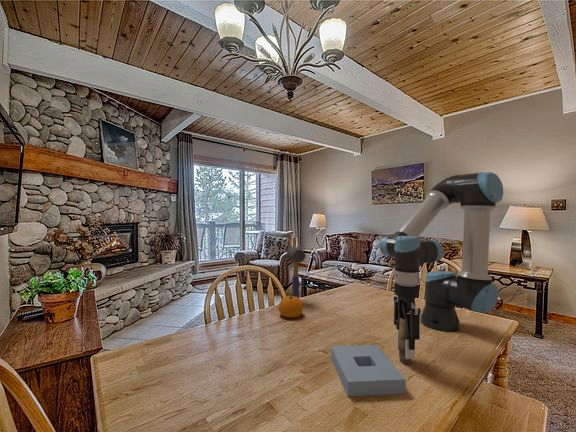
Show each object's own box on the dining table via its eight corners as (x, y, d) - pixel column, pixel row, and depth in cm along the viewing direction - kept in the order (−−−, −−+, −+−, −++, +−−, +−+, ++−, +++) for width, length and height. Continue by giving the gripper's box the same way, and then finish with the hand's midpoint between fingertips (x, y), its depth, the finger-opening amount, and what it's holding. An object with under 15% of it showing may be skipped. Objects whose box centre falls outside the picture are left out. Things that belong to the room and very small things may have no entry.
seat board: (377, 356, 99) (377, 344, 98) (405, 393, 79) (405, 379, 79) (330, 358, 97) (331, 346, 97) (347, 396, 77) (347, 381, 77)
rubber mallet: (306, 306, 149) (306, 248, 148) (292, 307, 147) (292, 249, 146) (298, 299, 161) (298, 245, 160) (285, 300, 159) (285, 245, 158)
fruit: (307, 314, 138) (307, 293, 138) (295, 322, 128) (295, 299, 128) (287, 309, 144) (287, 289, 144) (273, 316, 135) (273, 295, 134)
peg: (408, 358, 98) (409, 317, 97) (415, 365, 93) (415, 322, 93) (396, 358, 97) (396, 317, 97) (402, 365, 93) (402, 322, 93)
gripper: (383, 277, 103) (383, 341, 104) (409, 291, 85) (408, 369, 86) (404, 276, 104) (403, 340, 105) (433, 291, 86) (432, 368, 86)
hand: (405, 353), depth 95 cm, fingers open, 5 cm apart
